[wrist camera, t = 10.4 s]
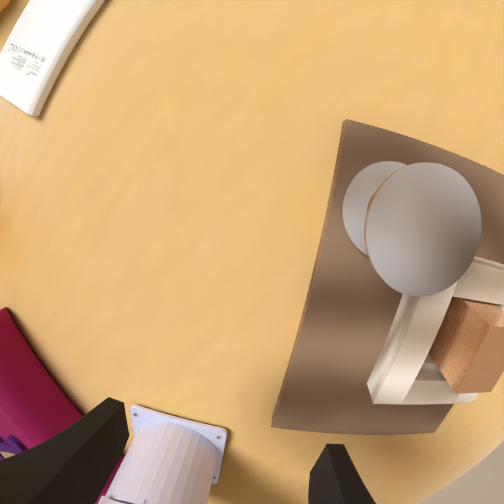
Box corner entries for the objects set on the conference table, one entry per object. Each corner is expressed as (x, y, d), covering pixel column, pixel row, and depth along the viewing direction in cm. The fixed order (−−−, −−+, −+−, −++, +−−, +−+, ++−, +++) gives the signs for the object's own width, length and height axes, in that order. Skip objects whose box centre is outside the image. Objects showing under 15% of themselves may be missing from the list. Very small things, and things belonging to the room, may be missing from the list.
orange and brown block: (457, 346, 16) (491, 391, 11) (423, 343, 16) (454, 393, 12) (480, 291, 15) (524, 329, 10) (446, 285, 15) (490, 325, 10)
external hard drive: (137, -31, 13) (43, 117, 16) (72, -39, 12) (-4, 86, 16) (127, -41, 11) (28, 116, 15) (61, -46, 10) (-17, 85, 14)
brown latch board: (430, 424, 20) (451, 475, 14) (272, 417, 20) (266, 482, 15) (527, 189, 14) (587, 205, 8) (342, 121, 14) (376, 100, 9)
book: (12, 300, 21) (-45, 338, 14) (180, 494, 27) (165, 544, 19) (-39, 348, 25) (-71, 373, 18) (81, 488, 31) (64, 520, 24)
